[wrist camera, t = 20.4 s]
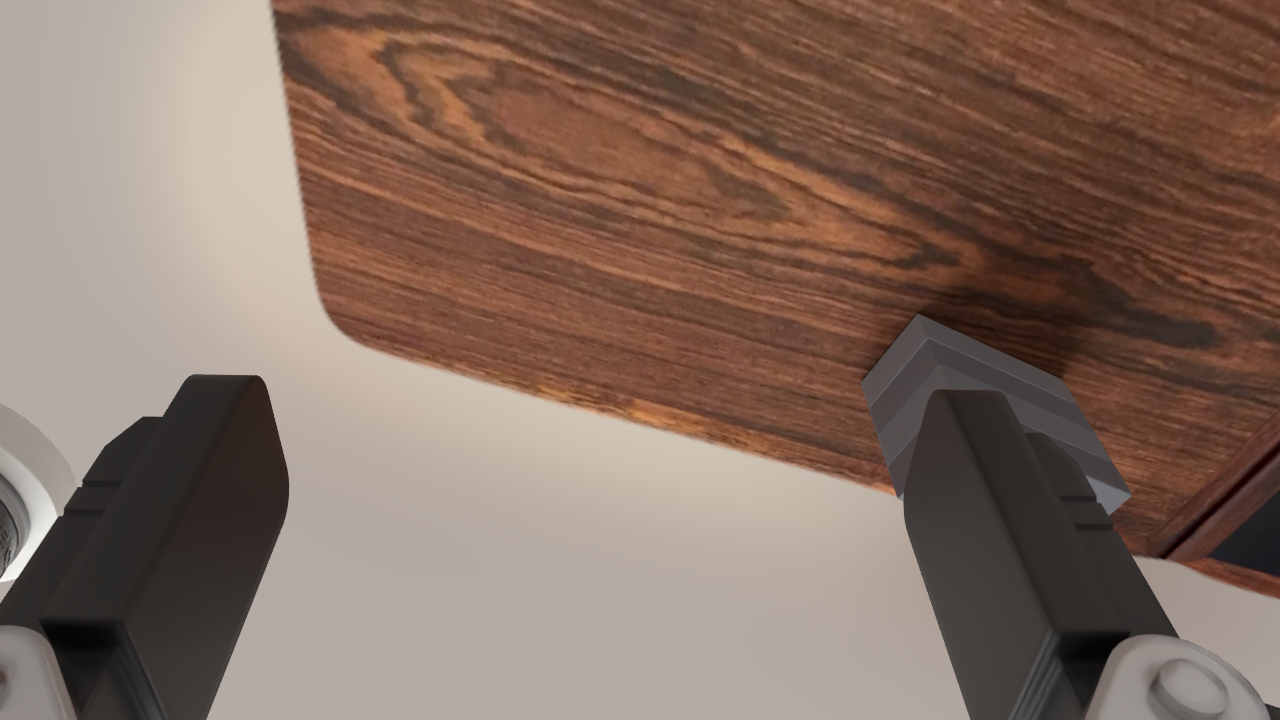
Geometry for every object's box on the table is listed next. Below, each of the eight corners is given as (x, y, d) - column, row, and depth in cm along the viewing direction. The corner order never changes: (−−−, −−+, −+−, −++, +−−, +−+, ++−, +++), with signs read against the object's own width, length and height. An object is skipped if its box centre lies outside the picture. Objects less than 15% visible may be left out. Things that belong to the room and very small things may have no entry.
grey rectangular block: (859, 383, 42) (897, 499, 36) (917, 312, 39) (967, 424, 34) (1001, 442, 44) (1058, 561, 38) (1063, 379, 42) (1133, 495, 36)
